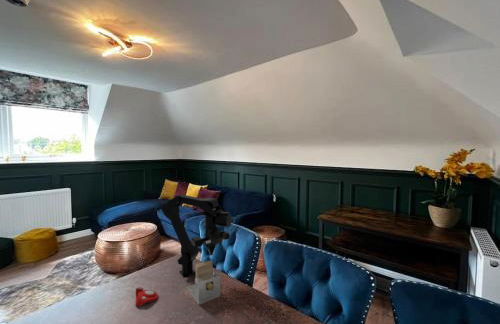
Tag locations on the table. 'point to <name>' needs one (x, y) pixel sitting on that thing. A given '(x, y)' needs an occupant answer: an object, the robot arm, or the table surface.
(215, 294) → the bearing block
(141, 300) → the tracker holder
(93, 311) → the table surface
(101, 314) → the table surface
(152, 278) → the table surface
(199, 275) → the shaft carriage
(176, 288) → the table surface
